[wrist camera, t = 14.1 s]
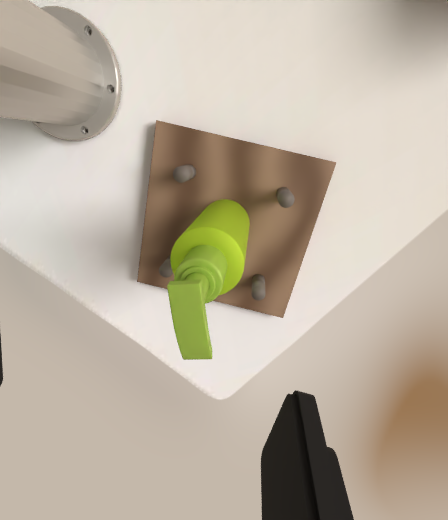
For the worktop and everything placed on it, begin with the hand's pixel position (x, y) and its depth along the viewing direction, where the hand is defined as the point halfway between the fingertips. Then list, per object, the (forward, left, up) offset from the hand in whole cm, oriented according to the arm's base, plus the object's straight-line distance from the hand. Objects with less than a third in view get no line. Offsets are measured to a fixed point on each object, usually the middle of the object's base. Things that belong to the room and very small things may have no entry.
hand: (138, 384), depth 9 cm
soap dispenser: (0, -2, -27) cm, 27 cm away
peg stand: (0, -2, -29) cm, 29 cm away
